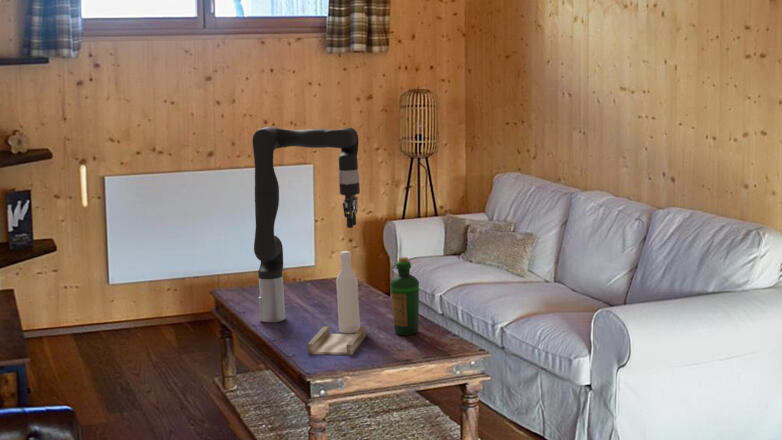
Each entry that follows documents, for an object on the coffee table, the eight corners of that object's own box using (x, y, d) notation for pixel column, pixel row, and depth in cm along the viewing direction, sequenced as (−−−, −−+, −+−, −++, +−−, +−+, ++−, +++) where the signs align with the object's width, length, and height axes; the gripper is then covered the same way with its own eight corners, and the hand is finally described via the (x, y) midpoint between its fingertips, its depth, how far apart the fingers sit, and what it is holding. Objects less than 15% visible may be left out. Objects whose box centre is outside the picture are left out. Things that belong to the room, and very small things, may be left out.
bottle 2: (391, 329, 402) (387, 256, 397) (419, 327, 403) (416, 254, 398) (393, 337, 392) (389, 262, 387) (422, 335, 392) (419, 260, 387)
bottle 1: (357, 333, 399) (353, 254, 393) (336, 333, 401) (332, 254, 395) (362, 327, 407) (358, 249, 401) (342, 327, 408) (337, 249, 403)
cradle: (308, 354, 377) (307, 344, 377) (324, 335, 398) (323, 326, 398) (352, 354, 374) (352, 344, 373) (366, 336, 395) (366, 326, 395)
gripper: (344, 178, 413) (346, 222, 416) (334, 184, 399) (337, 230, 402) (363, 178, 411) (365, 222, 415) (354, 184, 398) (357, 230, 401)
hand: (351, 226), depth 408 cm, fingers open, 4 cm apart
